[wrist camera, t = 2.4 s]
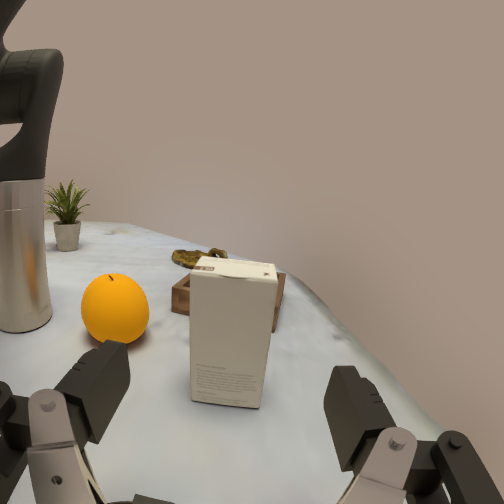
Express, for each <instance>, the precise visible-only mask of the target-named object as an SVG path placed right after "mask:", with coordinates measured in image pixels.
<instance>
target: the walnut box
mask: <svg viewBox="0 0 504 504" xmlns="http://www.w3.org/2000/svg"><path fill="white" fill-rule="evenodd" d="M276 274H277V279H278V289H277V294H276V299H275V308H274V317H273V325H272V332H274V331H275V327H276V322H277V318H278V313H279V309H280V304H281V300H282V295H283V290H284V283H285V277H286V274H284V273H278V272H276ZM172 312H176V313H180V314H184V315H189V316H190V273H189V274H188V275H187V276H185V277H184V278H183V279H182V280H180V281H179V282H178V283H176V284H175V285H174V286H173V287H172Z"/></svg>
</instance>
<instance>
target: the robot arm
mask: <svg viewBox="0 0 504 504" xmlns="http://www.w3.org/2000/svg"><path fill="white" fill-rule="evenodd" d="M25 1H26V0H0V125H2V124H14V123H23V125H22V127H21V129H20V131H19V132H18V134H17V135H16V136H15V137H14V138H13V139H11V140H10V141H9V142H8V143H7V144H5V145H4V146H2V147H0V329H1V330H3V331H7V332H16V333H17V332H26V331H30V330H33V329H36V328H38V327H40V326H42V325H43V324H45V323H46V322H47V321H48V320H49V319H50V318H51V316H52V308H51V301H50V294H49V287H48V277H47V267H46V255H45V238H44V183H45V179H44V177H45V166H46V157H47V149H48V140H49V133H50V128H51V122H52V117H53V113H54V109H55V105H56V100H57V97H58V93H59V89H60V84H61V80H62V74H63V67H64V66H63V65H64V62H63V56H62V54H61V52H60V51H59V50H57V49H39V50H38V49H37V50H25V51H16V52H10V51H8V50H6V49H5V47H4V44H3V36H4V33H5V31H6V29H7V28H8V26H9V24H10V23H11V21H12V20H13V18H14V17H15V15H16V14H17V12H18V11H19V10H20V8H21V7H22V5H23V4H24V2H25ZM129 384H130V368H129V361H128V353H127V346H126V344H125V343H122V342H118V341H113V340H109V339H107V340H105V342H104V343H103V344H102V345H101V346H100V347H99V349H92V350H90V351H88V352H86V353H85V354H83V355H82V357H81V358H80V359H79V360H78V361H77V363H75V365H74V366H73V367H72V369H70V370H69V372H68V373H67V374H66V375H65V376H64V377H63V379H62V380H61V381H60V382H59V383H58V384H57V386H56V387H55V388H54V389H53V390H52V389H43V390H39V391H37V392H35V393H34V394H33V395H32V396H31V397H30V398H28V397H22V396H16V395H13V394H12V391H11V389H10V387H9V385H8V384H6V383H5V382H2V381H0V435H1V436H0V504H7V502H8V500H9V498H10V496H11V494H12V492H13V490H14V488H15V486H16V485H17V483H18V481H19V479H20V477H21V475H22V473H23V471H24V470H25V468H26V466H27V464H28V465H29V471H30V477H31V482H32V487H33V491H34V496H35V500H36V504H174V503H172V502H167V501H163V500H158V499H154V498H150V497H146V496H142V495H138V494H135V496H134V499H133V502H132V501H120V502H112V503H107V502H106V500H105V498H104V496H103V494H102V492H101V490H100V488H99V486H98V483H97V481H96V478H95V475H94V473H93V470H92V467H91V464H90V462H89V459H88V456H87V453H86V450H85V448H84V447H85V445H86V443H87V441H89V442H92V443H95V444H99V442H100V440H101V438H102V436H103V434H104V432H105V430H106V428H107V427H108V425H109V423H110V421H111V419H112V417H113V415H114V413H115V412H116V410H117V408H118V406H119V404H120V402H121V400H122V399H123V397H124V395H125V393H126V391H127V390H128V387H129ZM324 411H325V414H326V418H327V421H328V425H329V428H330V432H331V435H332V439H333V442H334V446H335V449H336V453H337V456H338V460H339V464H340V467H341V471H342V472H346V471H353V474H354V477H353V478H352V480H351V482H350V483H349V485H348V486H347V488H346V490H345V491H344V493H343V494H342V496H341V497H340V499H339V501H338V502H337V504H403V501H404V499H405V497H406V500H407V503H408V504H450V503H449V500H448V498H447V496H446V493H445V491H444V489H443V486H442V484H443V483H444V484H445V486H446V488H447V491H448V493H449V495H450V498H451V504H504V501H503V499H502V497H501V495H500V493H499V491H498V489H497V488H496V486H495V484H494V482H493V480H492V478H491V477H490V475H489V473H488V471H487V470H486V468H485V466H484V464H483V463H482V461H481V459H480V458H479V456H478V454H477V453H476V451H475V449H474V448H473V446H472V444H471V443H470V441H469V440H468V438H467V437H466V436H465V435H464V434H462V433H460V432H457V431H446V432H444V433H442V434H441V435H440V436H439V438H438V439H437V441H419V440H416V438H415V436H414V435H413V434H412V433H411V432H410V431H408V430H406V429H404V428H400V427H397V426H396V424H395V422H394V420H393V418H392V416H391V415H390V413H389V411H388V409H387V407H386V405H385V403H383V400H382V398H381V396H379V392H378V391H377V389H376V387H375V385H374V384H373V383H371V382H370V381H369V380H368V379H367V378H361V377H360V375H359V373H358V371H357V369H356V368H355V366H335V367H334V368H333V371H332V374H331V377H330V380H329V383H328V387H327V390H326V393H325V396H324Z"/></svg>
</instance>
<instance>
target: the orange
mask: <svg viewBox="0 0 504 504" xmlns="http://www.w3.org/2000/svg"><path fill="white" fill-rule="evenodd" d="M81 314H82V319H83V321H84V324H85V326H86V328H87V330H88V332H89V333H90V334H91V335H92V336H93V337H94V338H95V339H97V340H98V341H100V342H103V343H104V342H105V340H107V339H109V340H113V341H118V342H122V343H125V344H127V343H130V342H132V341H135V340H136V339H137V338H138V337H140V336H141V335H142V334H143V332H144V331H145V328H146V326H147V323H148V320H149V307H148V302H147V299H146V296H145V294H144V292H143V290H142V288H141V287H140V286H139V285H138V284H137V283H136V282H135V281H134V280H133V279H131V278H129V277H127V276H125V275H122V274H105V275H101V276H99V277H97V278H96V279H94V280H93V281H92V282H91V283H90V284H89V285H88V287H87V288H86V290H85V292H84V295H83V299H82V304H81Z"/></svg>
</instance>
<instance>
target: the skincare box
mask: <svg viewBox="0 0 504 504" xmlns="http://www.w3.org/2000/svg"><path fill="white" fill-rule="evenodd" d="M277 289H278V279H277V274H276V269H275V265H274V264H268V263H260V262H251V261H242V260H233V259H224V258H215V257H207V256H201V258H200V259H199V261H198V262H197V264H196V265H195V267H194V268H193V270H192V271H191V272H190V380H191V399H192V400H194V401H200V402H207V403H214V404H222V405H230V406H240V407H250V408H259V407H260V400H261V394H262V388H263V382H264V376H265V370H266V364H267V358H268V351H269V345H270V338H271V332H272V325H273V317H274V308H275V299H276V294H277Z"/></svg>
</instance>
